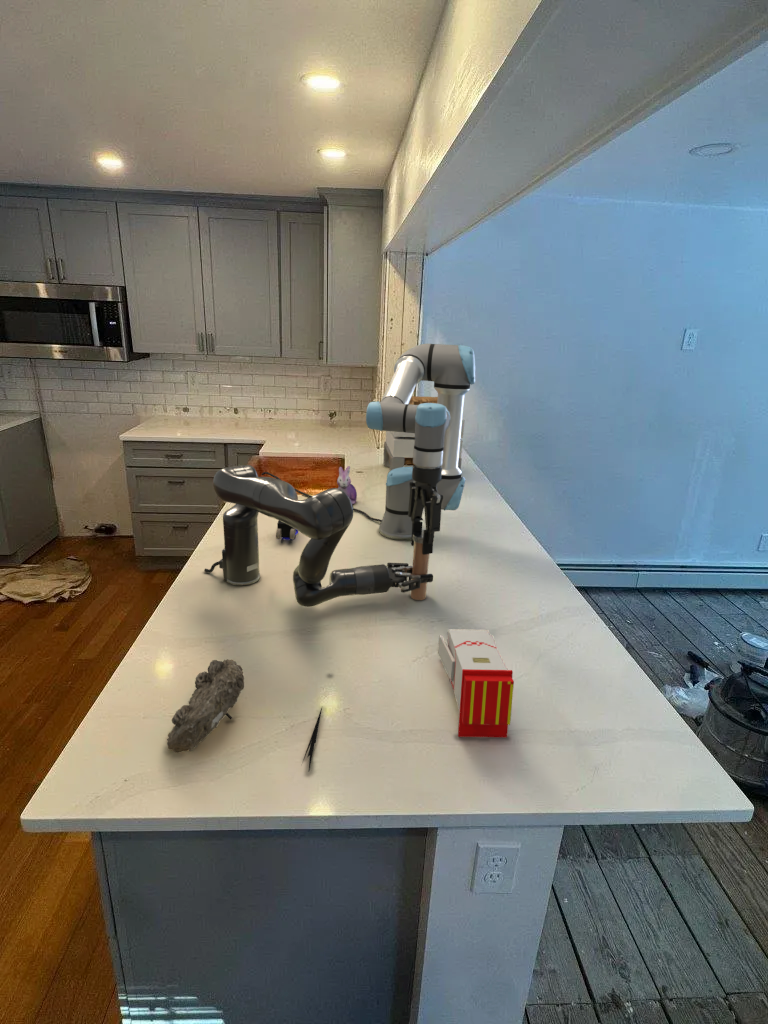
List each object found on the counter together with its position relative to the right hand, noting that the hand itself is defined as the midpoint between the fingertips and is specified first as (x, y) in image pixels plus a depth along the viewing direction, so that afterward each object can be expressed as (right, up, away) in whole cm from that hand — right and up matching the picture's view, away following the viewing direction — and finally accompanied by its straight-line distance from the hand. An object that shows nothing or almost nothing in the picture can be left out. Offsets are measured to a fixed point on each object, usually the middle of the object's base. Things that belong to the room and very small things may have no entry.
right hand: (421, 548), depth 152 cm
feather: (-22, -30, -43) cm, 57 cm away
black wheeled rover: (-42, +1, +40) cm, 58 cm away
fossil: (-43, -29, -44) cm, 68 cm away
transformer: (+7, +29, +123) cm, 126 cm away
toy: (+8, -28, -34) cm, 44 cm away
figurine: (-25, +13, +76) cm, 82 cm away
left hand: (+2, -7, +3) cm, 8 cm away
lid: (0, +4, -1) cm, 4 cm away
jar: (-1, -14, +5) cm, 14 cm away
